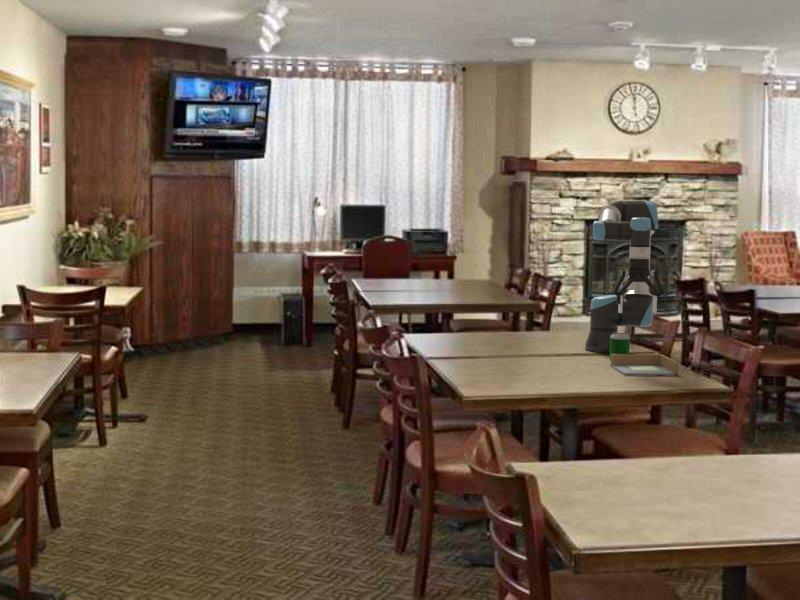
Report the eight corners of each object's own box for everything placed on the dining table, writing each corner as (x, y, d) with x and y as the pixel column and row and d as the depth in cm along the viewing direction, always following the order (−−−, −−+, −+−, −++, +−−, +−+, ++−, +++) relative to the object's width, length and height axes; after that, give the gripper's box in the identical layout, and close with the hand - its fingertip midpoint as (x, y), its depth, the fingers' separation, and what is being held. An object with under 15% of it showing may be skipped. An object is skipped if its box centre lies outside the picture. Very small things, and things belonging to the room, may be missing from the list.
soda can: (629, 366, 411) (630, 335, 410) (609, 365, 413) (610, 334, 412) (628, 363, 419) (630, 333, 417) (609, 362, 420) (610, 332, 419)
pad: (627, 366, 405) (627, 365, 405) (652, 366, 405) (652, 365, 405) (634, 370, 395) (634, 370, 395) (660, 370, 395) (660, 370, 395)
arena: (610, 366, 409) (611, 353, 409) (661, 366, 411) (662, 354, 410) (624, 375, 390) (625, 362, 389) (678, 375, 391) (678, 362, 390)
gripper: (610, 258, 403) (608, 313, 405) (674, 258, 406) (672, 313, 408) (604, 257, 410) (603, 311, 413) (667, 257, 413) (665, 311, 415)
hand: (637, 312), depth 410 cm, fingers open, 13 cm apart
